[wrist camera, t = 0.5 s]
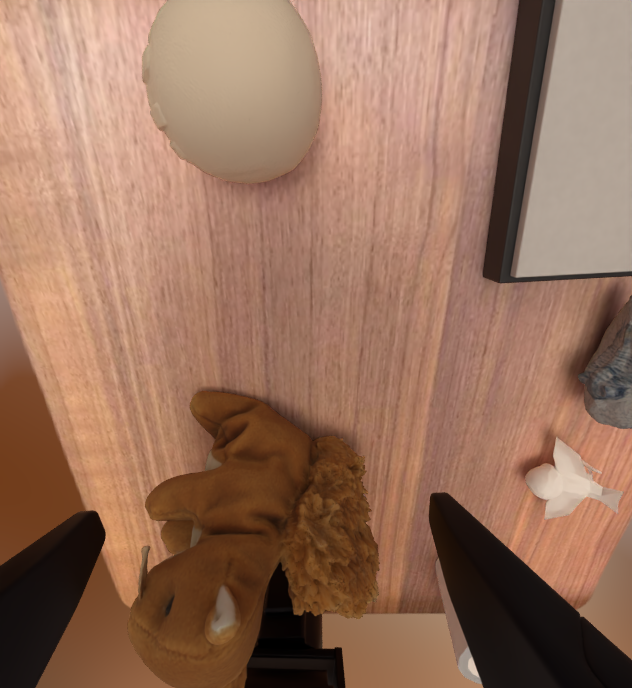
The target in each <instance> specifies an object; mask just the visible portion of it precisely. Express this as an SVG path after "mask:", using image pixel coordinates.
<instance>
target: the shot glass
mask: <svg viewBox="0 0 632 688" xmlns="http://www.w3.org/2000/svg"><path fill="white" fill-rule="evenodd" d="M435 571H436V575H437V579H438V584H439V588H440V592H441V596H442V601H443V605H444V609H445V614H446V618H447V622H448V626H449V631H450V635H451V639H452V643H453V648H454V652H455V656H456V661H457V665H458V668H459V670H460V671H461V672H462V674H463V675H464V677H466V678H468V679H470V680H472V681H474V682H476V683H480V684H482V682H481V680H480V677H479V674H478V672H477V669H476V666H475V664H474V661H473V658H472V655H471V653H470V650H469V647H468V645H467V642H466V639H465V637H464V634H463V631H462V629H461V626H460V623H459V621H458V618H457V615H456V613H455V610H454V607H453V605H452V602H451V599H450V596H449V593H448V590H447V587H446V583H445V580H444V576H443V572H442V569H441V565H440V561H439V557H438V559H437V561H436V563H435Z"/></svg>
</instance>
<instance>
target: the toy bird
mask: <svg viewBox="0 0 632 688" xmlns="http://www.w3.org/2000/svg"><path fill="white" fill-rule="evenodd" d="M553 458H554V461H555V466H552V465H551V464H547V463H544V464H542V465H541V466H539V467H538V466H537V467H535V468H533V469H531V470H529V471H528V473H527V474H526V475H525V481H526V484H527V486H528V487H529V489H530V490H531V491H532V493H533V494H534V495H536V496H537V497H539V498H541V499H544V500H547V501H546V508H545V518H544V520H546V519H551V518H556V517H562V516H567V515H570V514H571V512H572V511H573V510H574V509H575V508H576V507H577V506H578V504H579V503H580V502H581V501H582V500H583V499H585V498H586V497H590V498H593V499H597V500H600V501H601V502H602V503H604V504H605V505H606V506H608V507H609V508H610V509H612V510H613V511H614V512H616V513H617V514H618V502H619V500H620V498H621V496H622V494H623V493H624V492H623V491H618V490H614V489H610V488H605V487H602V486H600V485H599V484H597V483H596V482H594V481H593V478H592V477H593V474H592V471H595V472H597V473H601V472H600V471H598V470H597V469H595V468H593V467H592V466H590V465H589V464H587V463H586V462H585V461H583V460H582V459H581V456H580V455H579V454H578V453H577V452H575V451H574V450H573V449H571V448H570V447H569V446H568V445H566V444H565V443H564V442H563V441H561V440H560V439H559V438H557V437H556V443H555V448H554V452H553ZM584 466H585V467H587V468H588V470H589V473H586V471H585V468H584ZM591 470H592V471H591Z"/></svg>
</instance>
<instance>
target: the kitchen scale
mask: <svg viewBox="0 0 632 688" xmlns="http://www.w3.org/2000/svg"><path fill="white" fill-rule="evenodd" d="M623 276H632V0H520V3H519V11H518V18H517V26H516V33H515V41H514V48H513V56H512V63H511V71H510V78H509V85H508V93H507V100H506V108H505V115H504V123H503V130H502V138H501V145H500V153H499V160H498V168H497V175H496V183H495V190H494V197H493V205H492V212H491V220H490V227H489V235H488V242H487V250H486V257H485V265H484V272H483V277H485V278H488V279H490V280H493V281H495V282H498V283H514V282H533V281H551V280H569V279H587V278H605V277H623Z"/></svg>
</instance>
